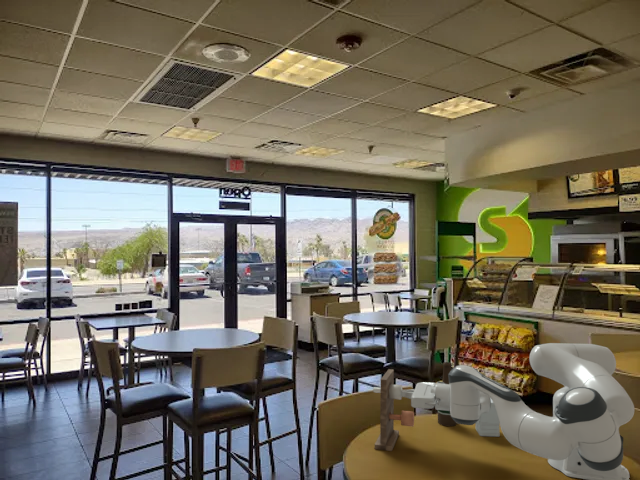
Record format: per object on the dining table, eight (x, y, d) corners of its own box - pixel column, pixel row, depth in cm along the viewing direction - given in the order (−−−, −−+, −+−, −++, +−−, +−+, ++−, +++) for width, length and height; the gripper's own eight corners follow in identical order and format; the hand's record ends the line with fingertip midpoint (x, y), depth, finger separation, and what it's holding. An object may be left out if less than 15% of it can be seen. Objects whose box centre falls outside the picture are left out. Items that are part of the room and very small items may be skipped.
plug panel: (398, 434, 179) (399, 369, 180) (391, 451, 164) (392, 380, 165) (382, 432, 181) (383, 368, 182) (374, 448, 166) (374, 378, 167)
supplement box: (494, 430, 185) (494, 397, 185) (499, 437, 178) (499, 402, 178) (474, 429, 186) (474, 396, 186) (479, 436, 178) (479, 402, 179)
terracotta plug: (414, 423, 172) (414, 409, 172) (412, 428, 168) (412, 414, 168) (386, 420, 175) (386, 406, 176) (384, 425, 171) (384, 411, 171)
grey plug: (402, 397, 174) (402, 383, 174) (400, 401, 169) (400, 387, 169) (375, 394, 177) (375, 381, 177) (372, 398, 172) (372, 384, 172)
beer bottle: (433, 423, 192) (433, 362, 193) (443, 418, 198) (443, 359, 198) (451, 428, 187) (451, 366, 187) (460, 423, 192) (460, 362, 193)
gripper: (439, 415, 157) (396, 410, 161) (442, 397, 177) (404, 394, 181) (439, 395, 157) (396, 391, 161) (442, 380, 177) (404, 377, 181)
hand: (401, 393), depth 171 cm, fingers closed, pressing on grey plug
